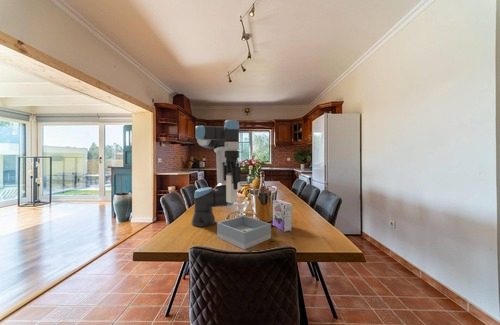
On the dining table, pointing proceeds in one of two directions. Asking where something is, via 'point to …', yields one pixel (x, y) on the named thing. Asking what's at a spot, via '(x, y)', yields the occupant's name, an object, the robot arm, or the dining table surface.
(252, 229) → the walled box
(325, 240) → the dining table surface
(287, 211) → the candy box
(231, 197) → the connector
